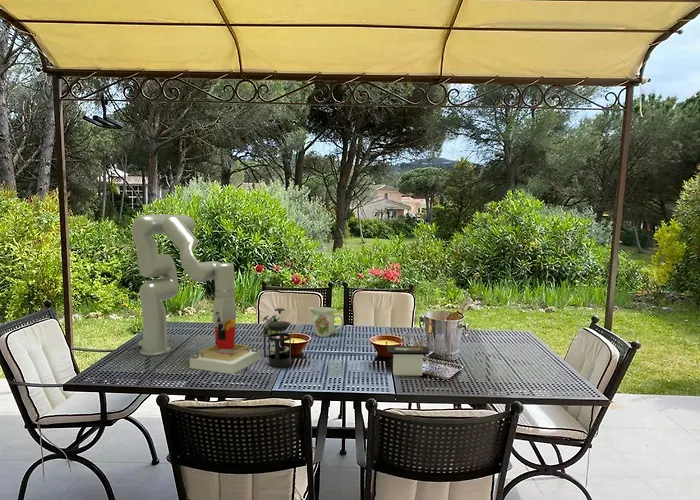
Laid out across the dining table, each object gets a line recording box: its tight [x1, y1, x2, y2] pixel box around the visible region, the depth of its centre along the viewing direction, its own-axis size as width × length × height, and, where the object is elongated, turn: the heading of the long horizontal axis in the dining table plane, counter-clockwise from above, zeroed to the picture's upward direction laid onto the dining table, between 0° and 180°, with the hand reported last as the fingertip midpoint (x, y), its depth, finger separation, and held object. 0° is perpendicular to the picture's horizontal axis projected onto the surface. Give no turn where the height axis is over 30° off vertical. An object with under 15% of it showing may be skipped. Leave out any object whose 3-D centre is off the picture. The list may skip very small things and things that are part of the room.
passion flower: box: [262, 313, 282, 335], centre depth 262 cm, size 11×11×12 cm
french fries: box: [214, 319, 237, 349], centre depth 212 cm, size 8×4×12 cm, turn 90°
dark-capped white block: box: [386, 337, 430, 376], centre depth 203 cm, size 35×28×14 cm
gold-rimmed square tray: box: [189, 343, 261, 375], centre depth 213 cm, size 20×20×6 cm
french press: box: [263, 308, 292, 369], centre depth 213 cm, size 12×9×23 cm
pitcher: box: [307, 306, 345, 338], centre depth 259 cm, size 11×18×14 cm, turn 88°
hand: (225, 337), depth 213 cm, fingers closed on french fries, 4 cm apart
